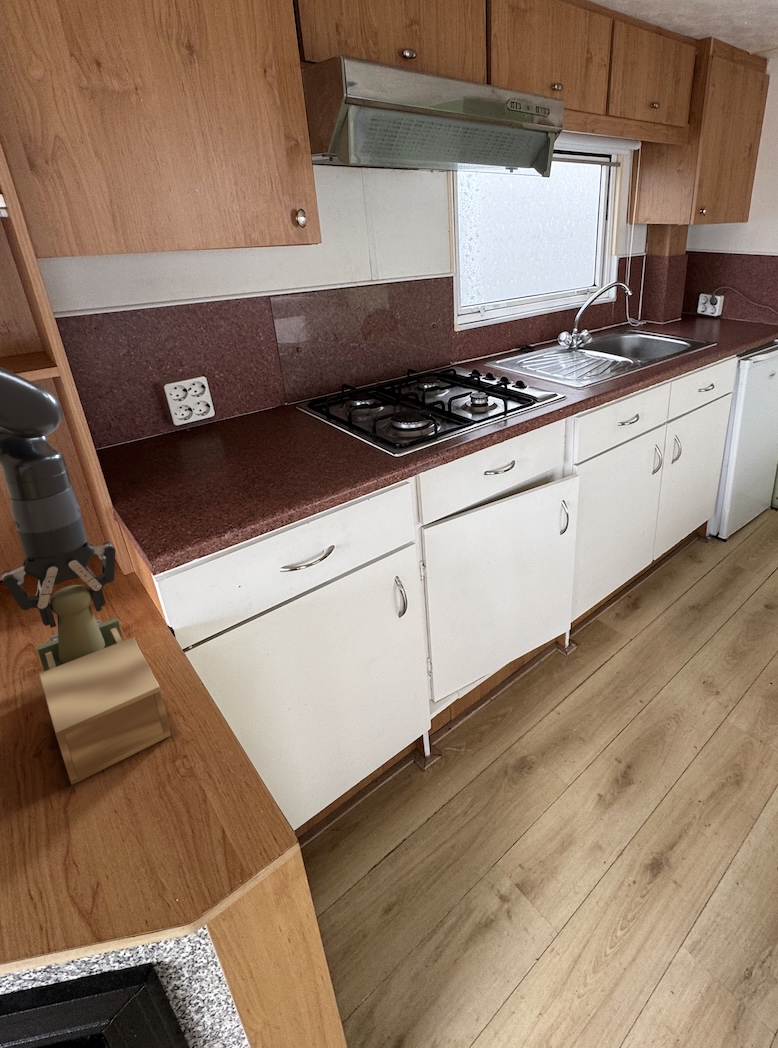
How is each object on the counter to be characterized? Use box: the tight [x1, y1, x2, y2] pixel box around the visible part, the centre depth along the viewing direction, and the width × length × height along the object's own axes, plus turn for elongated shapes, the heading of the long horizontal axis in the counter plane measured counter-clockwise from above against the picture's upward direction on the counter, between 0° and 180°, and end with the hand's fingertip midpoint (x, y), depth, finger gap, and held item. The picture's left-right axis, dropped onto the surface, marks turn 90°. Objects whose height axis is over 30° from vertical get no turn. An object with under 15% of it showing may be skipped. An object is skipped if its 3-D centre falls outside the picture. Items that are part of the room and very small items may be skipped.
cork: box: [49, 584, 105, 663], centre depth 90 cm, size 6×6×11 cm
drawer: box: [36, 617, 124, 672], centre depth 93 cm, size 19×11×7 cm, turn 44°
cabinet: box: [38, 637, 171, 786], centre depth 85 cm, size 15×12×9 cm
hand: (75, 616), depth 89 cm, fingers closed on cork, 5 cm apart
